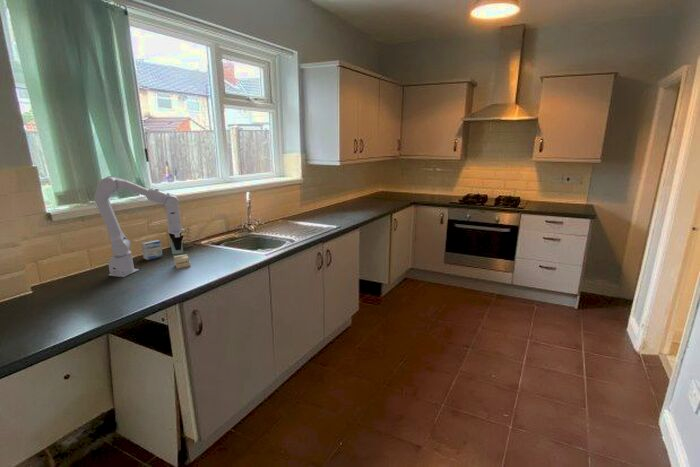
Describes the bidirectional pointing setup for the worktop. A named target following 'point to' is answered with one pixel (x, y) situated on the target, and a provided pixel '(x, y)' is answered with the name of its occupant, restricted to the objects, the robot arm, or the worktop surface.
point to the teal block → (175, 249)
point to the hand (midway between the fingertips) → (177, 248)
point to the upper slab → (181, 259)
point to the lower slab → (183, 265)
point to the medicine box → (152, 249)
